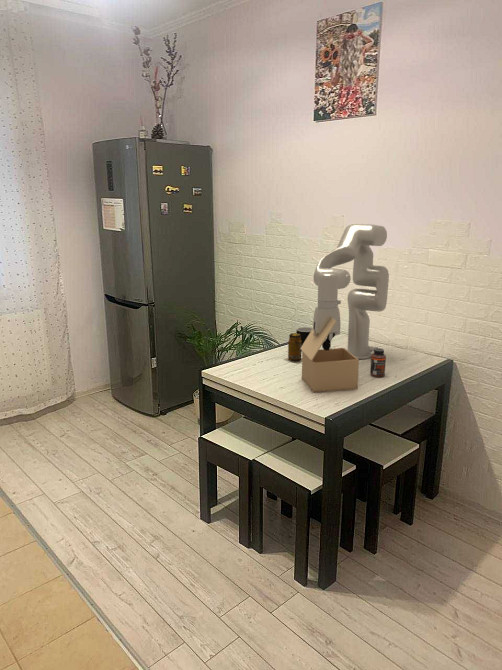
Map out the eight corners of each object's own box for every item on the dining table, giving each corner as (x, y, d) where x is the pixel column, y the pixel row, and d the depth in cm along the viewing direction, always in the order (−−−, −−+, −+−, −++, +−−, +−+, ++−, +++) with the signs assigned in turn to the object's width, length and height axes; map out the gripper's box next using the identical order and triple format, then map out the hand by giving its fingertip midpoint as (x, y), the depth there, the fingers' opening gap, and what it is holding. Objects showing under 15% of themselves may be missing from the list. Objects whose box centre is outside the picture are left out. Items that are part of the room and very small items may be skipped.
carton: (343, 375, 216) (344, 347, 213) (357, 388, 201) (358, 359, 197) (301, 378, 213) (302, 350, 209) (313, 392, 197) (313, 362, 194)
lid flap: (324, 312, 206) (323, 311, 206) (336, 321, 192) (335, 320, 192) (301, 349, 209) (300, 348, 208) (312, 360, 194) (311, 360, 194)
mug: (309, 353, 246) (309, 332, 243) (292, 350, 251) (293, 330, 248) (320, 346, 255) (321, 327, 253) (304, 344, 260) (304, 324, 257)
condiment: (295, 356, 241) (295, 331, 238) (307, 360, 235) (308, 335, 232) (283, 359, 237) (283, 334, 234) (296, 363, 231) (296, 338, 227)
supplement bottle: (376, 378, 211) (378, 352, 208) (367, 374, 217) (368, 348, 214) (387, 376, 214) (389, 350, 211) (378, 371, 219) (379, 346, 216)
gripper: (342, 301, 202) (340, 345, 208) (305, 303, 200) (305, 348, 205) (349, 305, 195) (347, 351, 200) (311, 307, 193) (311, 354, 198)
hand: (326, 349), depth 203 cm, fingers closed
